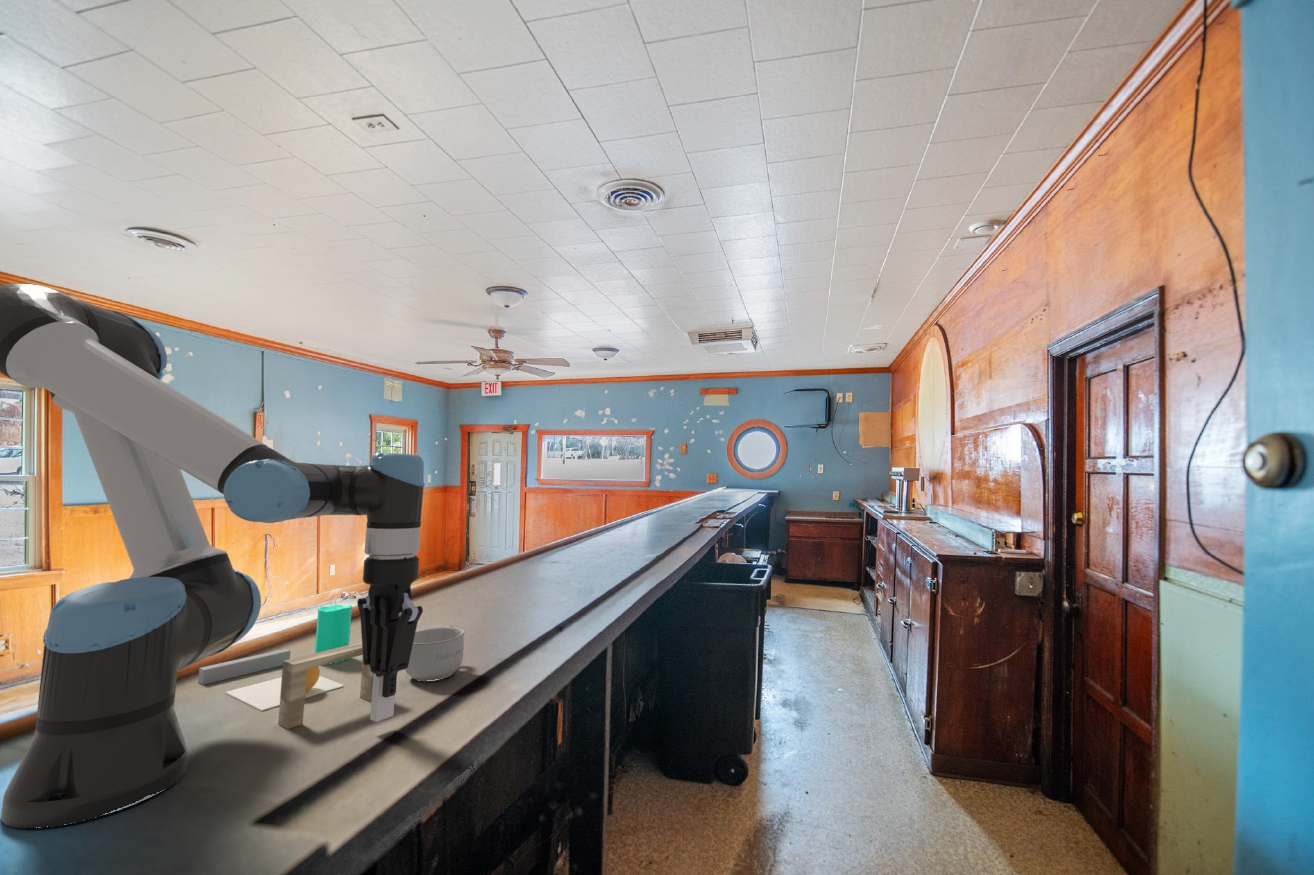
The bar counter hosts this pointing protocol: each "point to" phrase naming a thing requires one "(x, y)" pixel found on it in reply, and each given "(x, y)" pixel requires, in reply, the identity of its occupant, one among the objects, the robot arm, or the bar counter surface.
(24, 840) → the bar counter surface
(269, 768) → the bar counter surface
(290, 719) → the bridge
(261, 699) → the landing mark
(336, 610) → the candle
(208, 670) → the stopper
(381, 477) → the robot arm
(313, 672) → the ball
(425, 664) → the teacup
